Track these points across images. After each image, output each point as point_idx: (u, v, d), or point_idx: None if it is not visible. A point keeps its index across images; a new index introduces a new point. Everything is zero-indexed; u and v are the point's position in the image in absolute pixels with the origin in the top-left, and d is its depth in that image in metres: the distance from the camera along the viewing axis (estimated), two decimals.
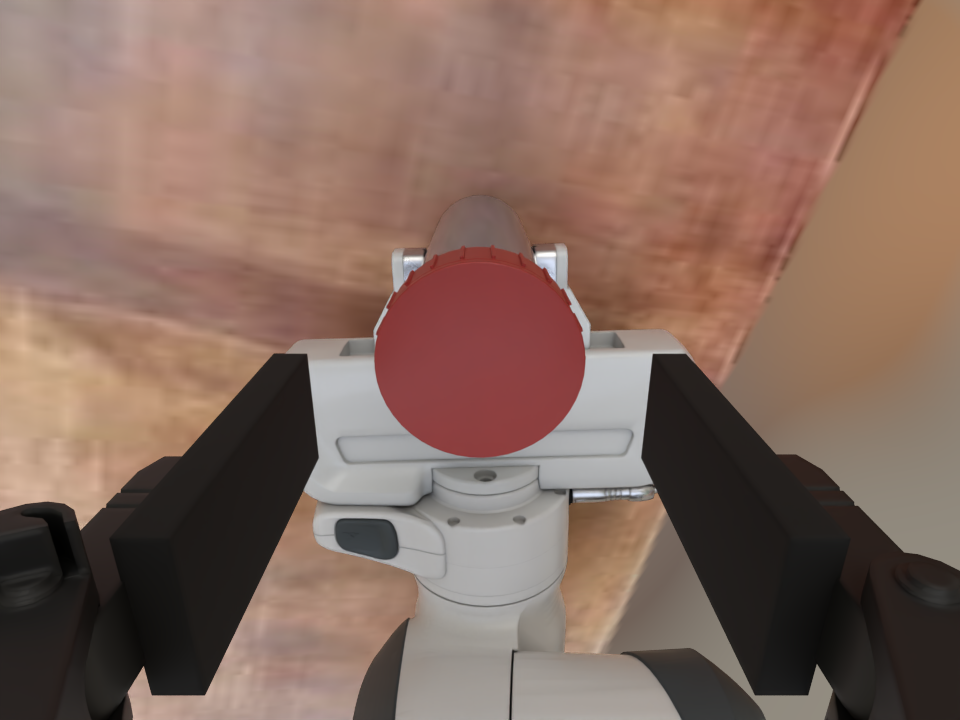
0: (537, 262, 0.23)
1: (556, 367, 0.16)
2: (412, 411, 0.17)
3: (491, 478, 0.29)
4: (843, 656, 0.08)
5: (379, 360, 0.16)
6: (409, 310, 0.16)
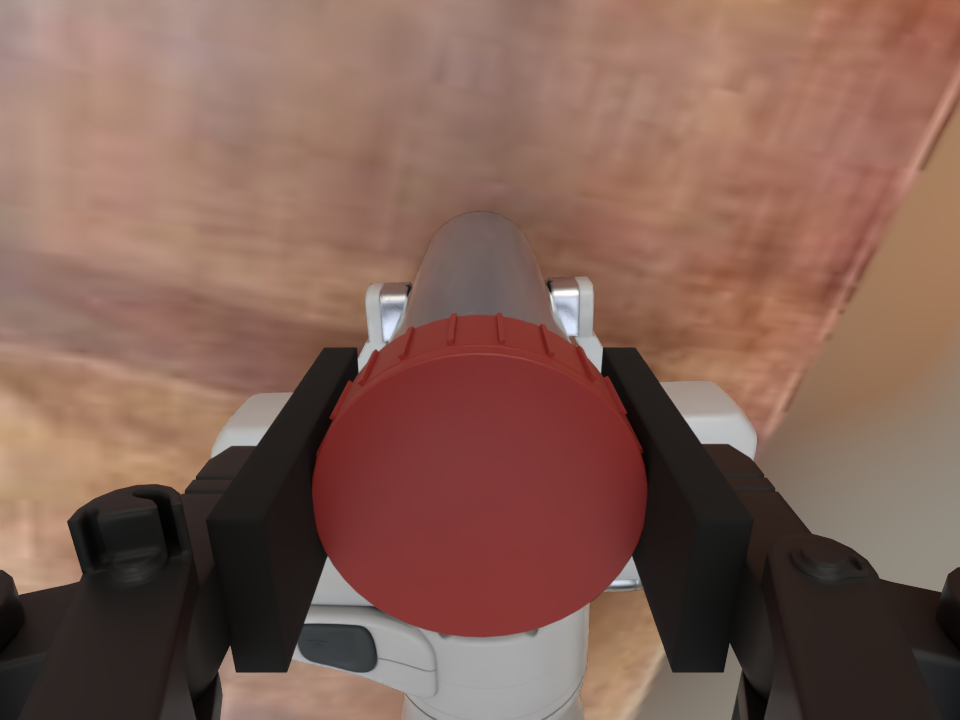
0: (558, 313, 0.17)
1: (601, 512, 0.10)
2: (374, 574, 0.11)
3: None
4: (748, 636, 0.08)
5: (319, 501, 0.10)
6: (365, 427, 0.10)
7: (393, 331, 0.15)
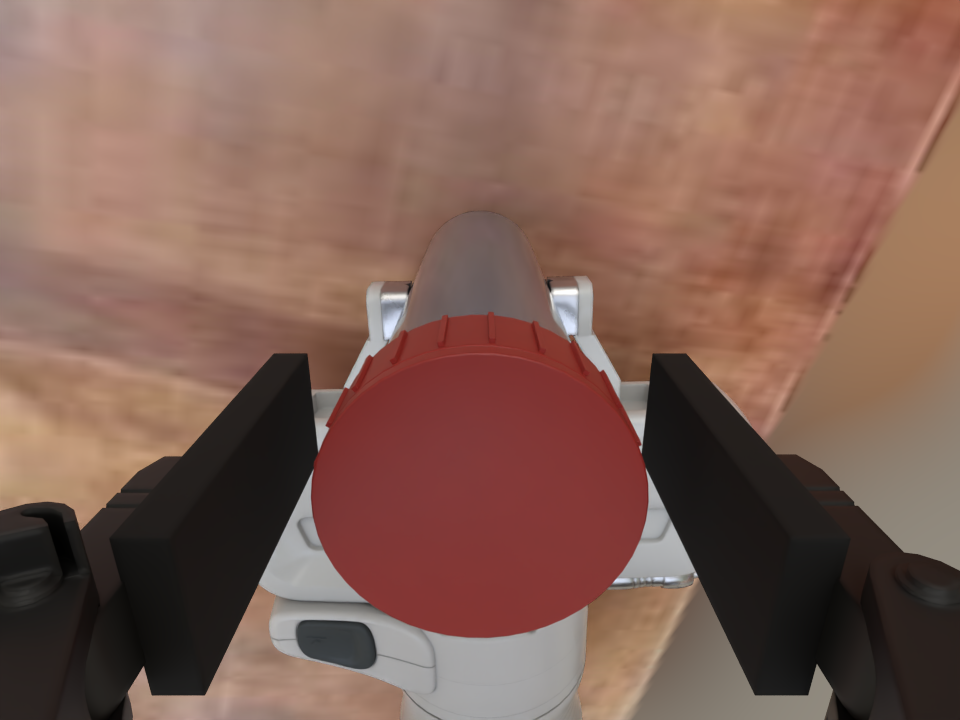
0: (558, 311, 0.17)
1: (529, 408, 0.10)
2: (511, 613, 0.11)
3: None
4: (843, 656, 0.08)
5: (417, 622, 0.11)
6: (359, 564, 0.11)
7: (394, 329, 0.16)
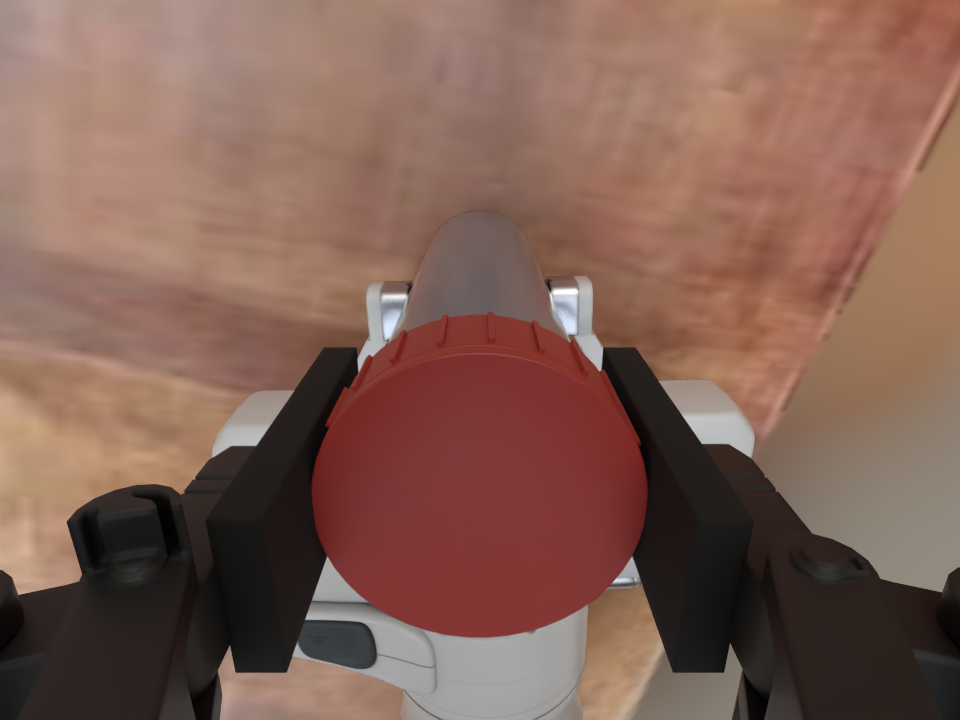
0: None
1: (529, 408, 0.10)
2: (511, 613, 0.11)
3: None
4: (749, 637, 0.08)
5: (417, 622, 0.11)
6: (358, 564, 0.11)
7: (394, 329, 0.16)
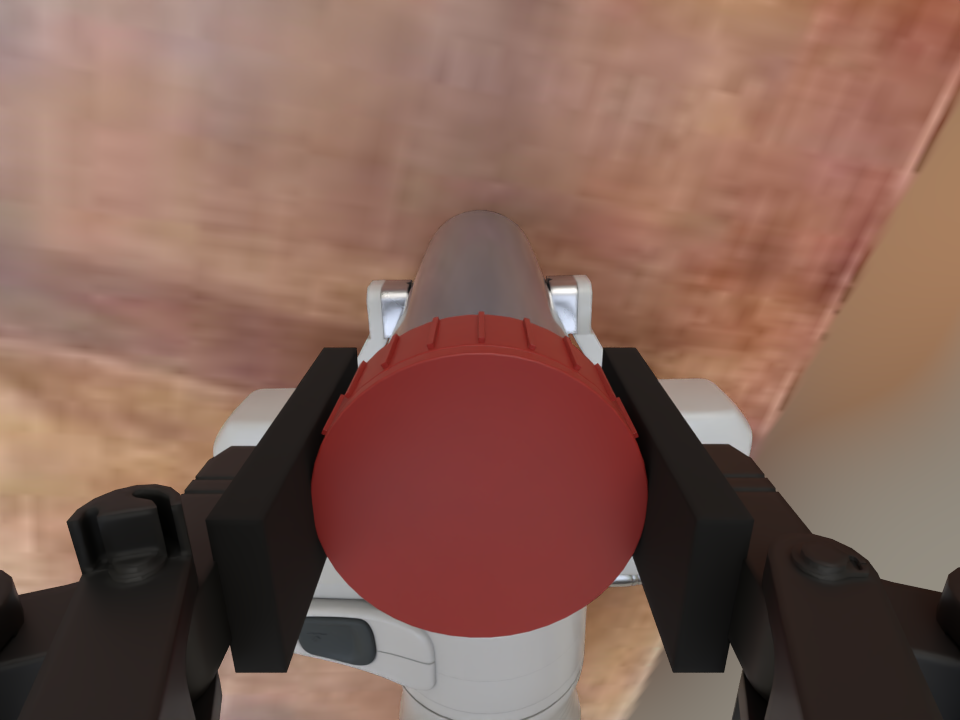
0: (557, 310, 0.17)
1: (385, 435, 0.10)
2: (613, 524, 0.10)
3: None
4: (749, 637, 0.08)
5: (582, 601, 0.11)
6: (495, 619, 0.11)
7: (395, 326, 0.16)
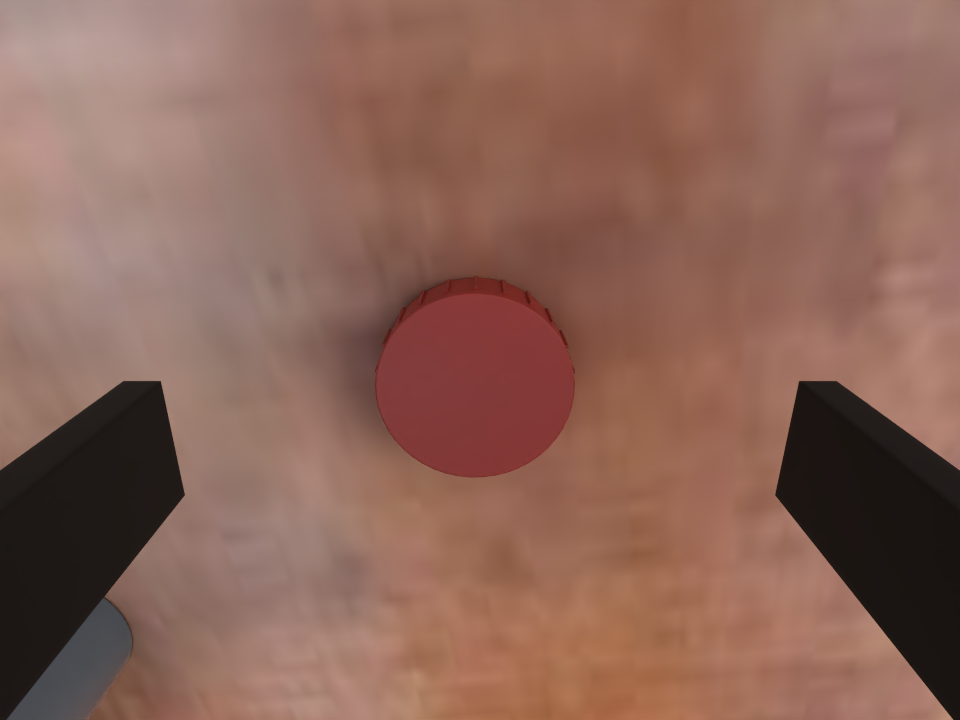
0: None
1: (420, 343, 0.17)
2: (554, 399, 0.18)
3: None
4: None
5: (538, 451, 0.18)
6: (485, 464, 0.18)
7: None
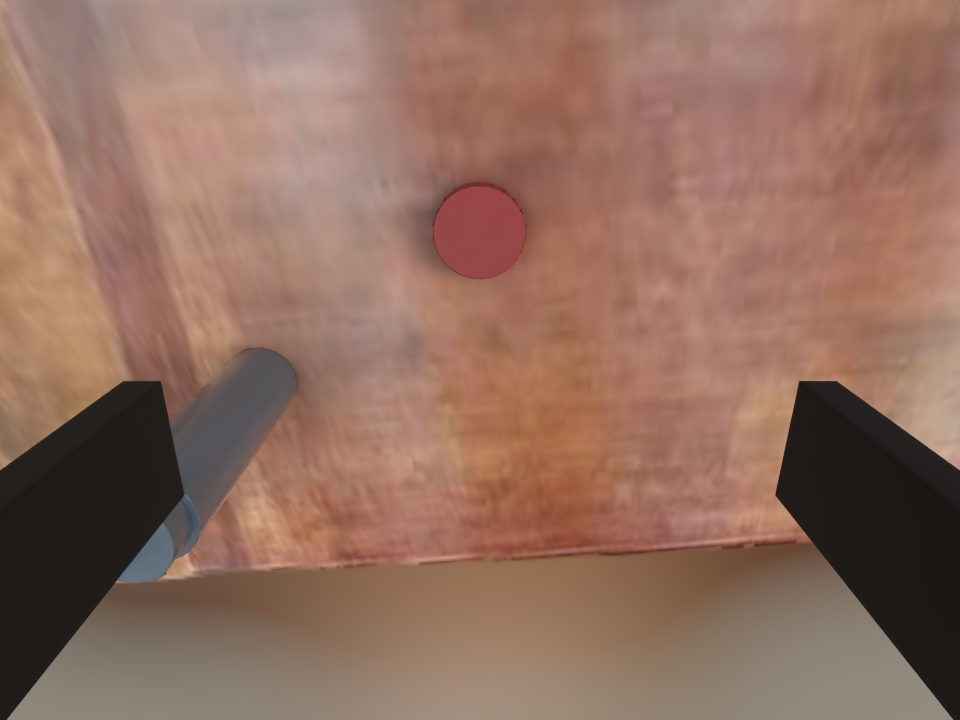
0: (233, 487, 0.34)
1: (454, 210, 0.37)
2: (516, 238, 0.38)
3: None
4: None
5: (509, 265, 0.38)
6: (484, 271, 0.39)
7: (179, 434, 0.31)
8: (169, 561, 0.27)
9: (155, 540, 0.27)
